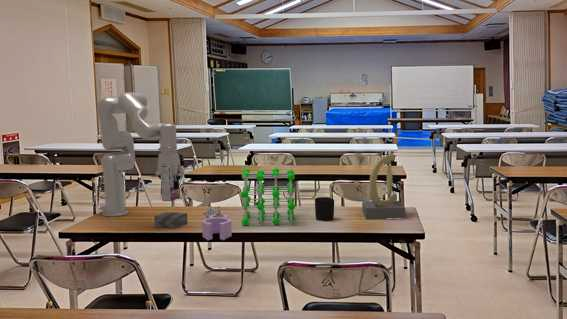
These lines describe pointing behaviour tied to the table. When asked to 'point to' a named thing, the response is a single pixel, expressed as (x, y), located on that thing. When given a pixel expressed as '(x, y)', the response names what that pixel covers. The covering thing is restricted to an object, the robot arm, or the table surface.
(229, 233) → the clip
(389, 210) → the trophy
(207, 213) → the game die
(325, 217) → the pen holder
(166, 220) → the charcoal block
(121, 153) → the robot arm
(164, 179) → the candy bar box
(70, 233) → the table surface
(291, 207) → the molecular structure model
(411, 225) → the table surface
